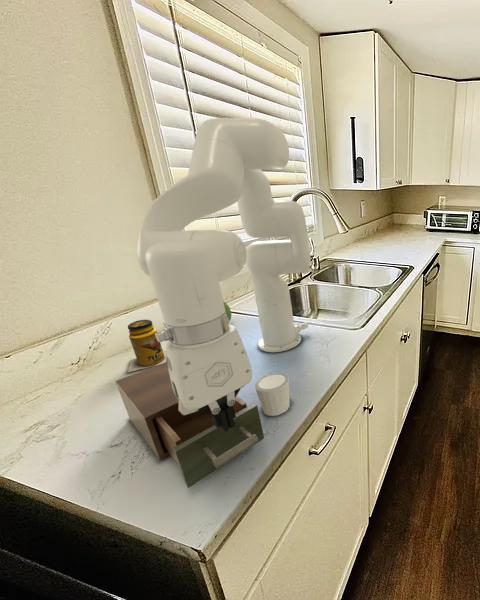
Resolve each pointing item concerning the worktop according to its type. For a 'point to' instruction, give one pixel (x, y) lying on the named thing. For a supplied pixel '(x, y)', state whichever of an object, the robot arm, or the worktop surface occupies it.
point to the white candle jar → (273, 393)
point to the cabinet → (148, 402)
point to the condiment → (145, 345)
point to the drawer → (207, 439)
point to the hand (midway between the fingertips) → (225, 425)
